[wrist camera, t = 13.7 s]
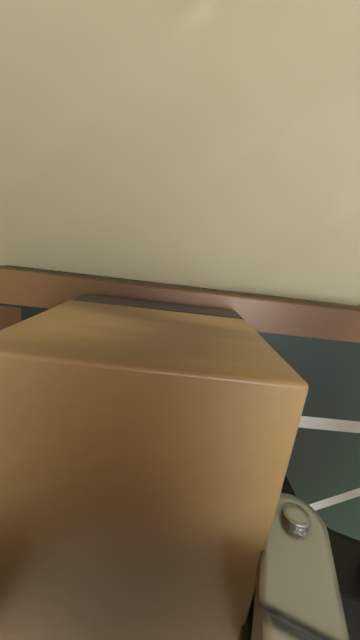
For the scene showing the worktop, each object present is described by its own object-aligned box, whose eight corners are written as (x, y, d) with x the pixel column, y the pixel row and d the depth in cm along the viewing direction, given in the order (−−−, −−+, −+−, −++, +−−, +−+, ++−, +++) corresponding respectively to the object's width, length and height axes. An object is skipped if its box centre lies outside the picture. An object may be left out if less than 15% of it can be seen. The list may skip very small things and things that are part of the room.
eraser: (80, 507, 11) (-4, 722, 6) (84, 292, 8) (-47, 347, 3) (200, 518, 11) (217, 735, 6) (236, 310, 8) (312, 385, 4)
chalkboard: (22, 575, 13) (7, 606, 12) (6, 265, 9) (-18, 266, 8) (425, 605, 14) (448, 636, 13) (568, 330, 10) (618, 340, 9)
